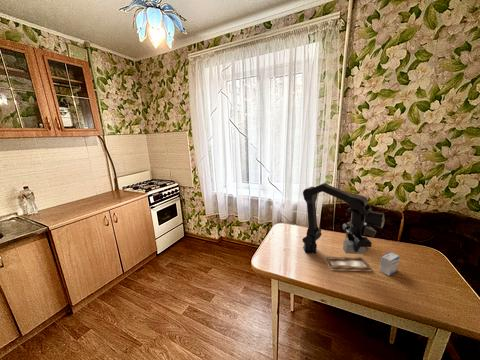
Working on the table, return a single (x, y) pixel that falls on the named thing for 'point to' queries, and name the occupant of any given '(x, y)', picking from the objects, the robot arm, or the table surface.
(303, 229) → the table surface
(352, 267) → the tray
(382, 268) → the medicine box
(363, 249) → the grey box with label
